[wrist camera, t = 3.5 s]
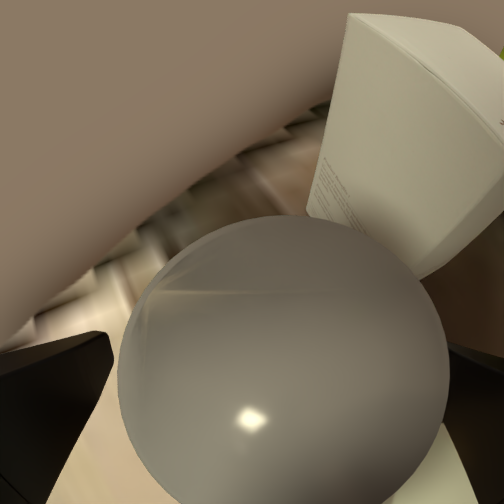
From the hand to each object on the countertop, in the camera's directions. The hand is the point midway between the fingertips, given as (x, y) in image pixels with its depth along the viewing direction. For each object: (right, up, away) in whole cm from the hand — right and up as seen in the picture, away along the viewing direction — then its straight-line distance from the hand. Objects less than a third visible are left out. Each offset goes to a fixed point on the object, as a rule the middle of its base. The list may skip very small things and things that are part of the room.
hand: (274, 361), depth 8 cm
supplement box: (+7, +4, +11) cm, 13 cm away
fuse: (0, -4, +7) cm, 8 cm away
